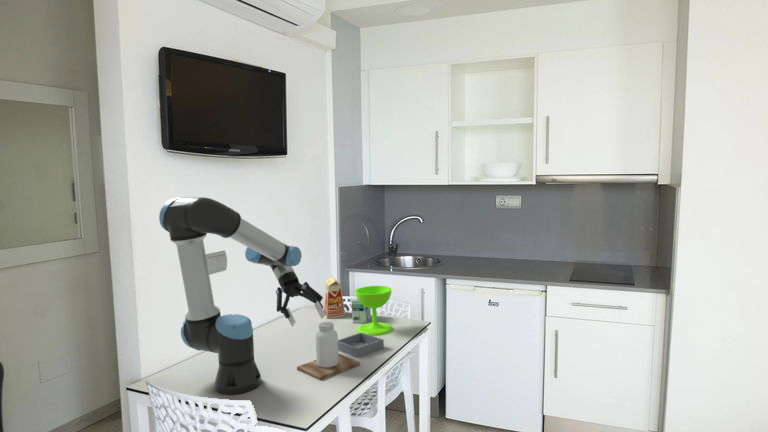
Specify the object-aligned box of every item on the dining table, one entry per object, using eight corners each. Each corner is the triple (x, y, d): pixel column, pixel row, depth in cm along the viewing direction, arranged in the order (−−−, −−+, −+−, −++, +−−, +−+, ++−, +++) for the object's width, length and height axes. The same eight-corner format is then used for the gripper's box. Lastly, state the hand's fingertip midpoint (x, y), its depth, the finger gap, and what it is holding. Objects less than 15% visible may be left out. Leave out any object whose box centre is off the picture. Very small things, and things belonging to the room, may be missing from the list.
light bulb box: (366, 323, 239) (365, 300, 238) (352, 323, 240) (350, 300, 239) (371, 316, 249) (370, 294, 248) (357, 316, 251) (356, 294, 250)
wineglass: (397, 325, 234) (395, 286, 232) (386, 336, 219) (385, 295, 217) (364, 323, 239) (362, 285, 237) (351, 334, 224) (349, 293, 222)
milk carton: (323, 314, 257) (321, 274, 255) (341, 312, 259) (339, 272, 257) (327, 319, 248) (324, 278, 246) (345, 316, 251) (343, 276, 249)
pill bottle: (341, 366, 186) (339, 325, 184) (319, 370, 183) (317, 328, 181) (335, 358, 193) (333, 319, 192) (314, 362, 190) (312, 322, 189)
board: (319, 380, 177) (319, 376, 177) (297, 369, 187) (296, 366, 187) (359, 364, 189) (359, 361, 189) (336, 355, 199) (336, 352, 199)
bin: (357, 357, 196) (357, 348, 196) (335, 349, 206) (335, 340, 206) (383, 347, 206) (383, 339, 205) (361, 340, 216) (361, 332, 215)
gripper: (308, 277, 218) (331, 318, 209) (255, 287, 202) (277, 333, 192) (315, 266, 214) (338, 308, 204) (261, 276, 197) (284, 322, 188)
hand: (309, 320), depth 198 cm, fingers open, 13 cm apart
